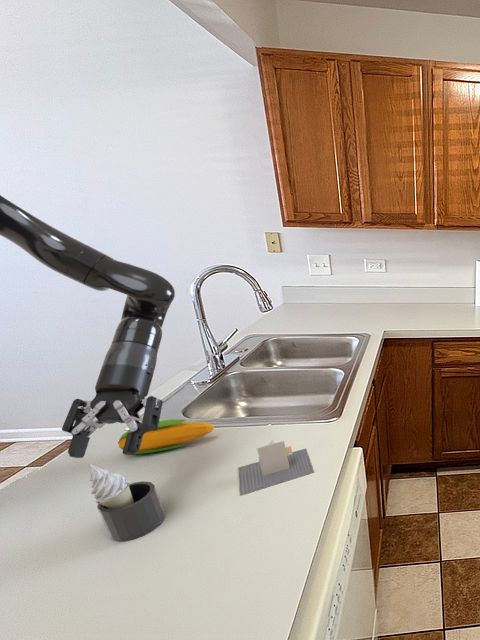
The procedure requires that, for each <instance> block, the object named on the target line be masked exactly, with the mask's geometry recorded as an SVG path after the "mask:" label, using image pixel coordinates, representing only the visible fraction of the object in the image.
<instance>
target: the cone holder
mask: <svg viewBox="0 0 480 640" xmlns="http://www.w3.org/2000/svg"><path fill="white" fill-rule="evenodd" d="M129 488H130V491H131V494H132V497H133V500H134V503H133V504H131V505H128V506H125V507H122V508H117V509H109V508H107V507H105V506H103V505H101V504H99V503H97V511H98V513H99V515H100V517H101V519H102V521H103V523H104V526H105V528H106V530H107V533H108V535H109V536H110V537H111V539H112V540H113V541H116V542H128V541H129V542H130V541H134V540H136V539H139V538H142V537H143V536H145V535H148V534H150V533H151V532H152V531H154V530H155V529H157V528H158V527H159V526H160V525H161V524H162V523H163V522H164V520H165V518H166V513H165V508H164V505H163V504H162V501H161V499H160V496H159V493H158V490H157V488H156V485H155V484H154V483H153V482H151V481H136V482H132V483H129Z"/></svg>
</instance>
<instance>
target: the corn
mask: <svg viewBox="0 0 480 640" xmlns="http://www.w3.org/2000/svg"><path fill="white" fill-rule="evenodd" d="M214 429H215V425H214V424H211V423H207V422H186V419H166V420H159V424H158V428H157V430H155V431H152V430H151V431H148V432H146V433H145V434H144V435H143V438H142V442H141V445H140V449H139V450H138V452H136V454H151V453H152V454H153V453H157V452H163V451H167V450H173V449H176V448H180V447H185V446H186V445H185V444H186V443H190V442H193V441H196V440H198V439H200V438H203V437H204V436H206V435H209V434H210V433H212V431H214ZM128 433H131V431H130V429H128V430H127V431H126V432H124V433H123V434H122V435H121V436H120V438H119V440H118V442H117V444H118V448H119V449H121V450H122V451H123V448H124V444H125V441H126V437H127V434H128Z"/></svg>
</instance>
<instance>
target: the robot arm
mask: <svg viewBox="0 0 480 640" xmlns="http://www.w3.org/2000/svg"><path fill="white" fill-rule="evenodd" d="M0 236H1V237H3V238H5V239H6V240H8V241H10V242H11V243H13V244H15V246H18V247H19V248H20V249H22V250H23V251H24V252H26V253H27V254H28V255H30V256H31V257H32V258H34V259H35V260H36V261H38V262H39V263H41V264H42V265H43V266H45V267H47V268H49V269H51V270H52V271H54V272H56V273H58V274H59V275H62V276H64V277H66V278H68V279H70V280H72V281H75V282H77V283H79V284H81V285H84V286H85V287H88V288H90V289H93V290H95V291H99V292H105V291H108V290H113V291H115V292H118V293H120V294H123V295H126V298H125V302H124V304H123V305H124V306H123V308H122V314H121V318H120V321H119V323H118V324H117V327H116V329H115V331H114V334H113V337H112V340H111V344H110V347H109V348H108V350H107V352H106V354H105V356H104V359H103V362H102V365H101V368H100V371H99V373H98V377H97V379H96V380H97V381H96V383H95V386H94V390H95V396H94V397H93V399H91V400H83V399H80V398H75V399H74V400H73V401H72V403H71V406H70V408H69V410H68V413H67V415H66V418H65V420H64V422H63V425H62V427H61V430H62V432H65V433H69V434H70V435H72V437H71V441H70V444H69V447H68V449H67V454H68V456H69V457H70V458H75V459H83V458H84V457H85V455H86V451H87V448H88V445H89V443H90V440H91V437H90V436H91V435H92V434H93V433H94V432H95V431H96V430H98V429H101V428H103V427H104V426H105V425H106V424H107V425H109V424H110V425H112V424H116V423H120V424H126V426H127V428H128V430H130V431H131V433H128V434H127V437H126V441H125V444H124V448H123V450H122V454H123V455H126V456H135V455H136V454H137V453H136V452H138V450H139V449H140V445H141V442H142V438H143V435H144V434H145V433H146V432H148V431H151V430H152V431H155V430H157V428H158V424H159V421H160V419H161V414H162V409H163V402H164V401H163V400H162V399H160V398H159V397H156V396H153V395H150V396H148V394H149V391H150V388H151V385H152V380H153V376H154V374H155V370H156V366H157V361H158V353H159V349H160V345H161V343H162V338H163V325H164V322H165V319H166V316H167V313H168V311H169V308H170V306H171V305H172V303H173V301H174V299H175V296H176V291H175V287H174V286H173V285H172V283H171V282H170V281H169V280H167V279H166V278H165V277H163V276H162V275H160V274H158V273H156V272H153V271H152V270H149V269H145V268H143V267H141V266H140V267H139V266H137V265H133V264H131V263H127V262H125V261H121V260H120V261H119V260H117V259H115V258H113V257H112V256H109V255H108V254H106V253H103V252H102V251H101V250H98V249H96V248H94V247H92V246H90V245H88V244H86V243H84V242H83V241H81V240H78V239H77V238H74V237H73V236H70V235H69V234H67V233H65V232H62V231H61V230H59V229H57V228H55V227H54V226H52V225H50V224H49V223H47V222H45V221H43V220H41V219H39V218H38V217H36V216H34V215H33V214H31V213H29V212H28V211H26V210H25V209H23V208H21V207H19V206H18V205H17V204H16V203H14V202H11V201H10V200H8V199H7V198H6V197H4V196H2V195H1V194H0ZM143 409H144V411H143V415H142V416H143V417H141V415H140V413H139V412H141V410H143ZM95 418H96V420H95Z"/></svg>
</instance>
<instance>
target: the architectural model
mask: <svg viewBox="0 0 480 640" xmlns="http://www.w3.org/2000/svg"><path fill="white" fill-rule="evenodd" d="M256 451H257V455H258V461H257V462H252V463H249V464H246V465H242V466H239V467H237V470H238V483H239V496H243V495H248V494H249V493H253V492H257V491H259V490H262V489H266V488H269V487H272V486H275V485H278V484H282V483H285V482H288V481H291V480H294V479H298V478H300V477H304V476H307V475H310V474H313V473H315V470H314V467H313V465H312V464H313V463H312V461H311V458H310V456H309V453H308V450H307V448H302V449H299V450H295V451H293V450H292V446H291V445H289V446H286V445H285V440H281V441H278V442H274V439H272V440H271V441H270V442H269V443H268V444H266V445H263V446H260V447H257V448H256Z"/></svg>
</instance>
